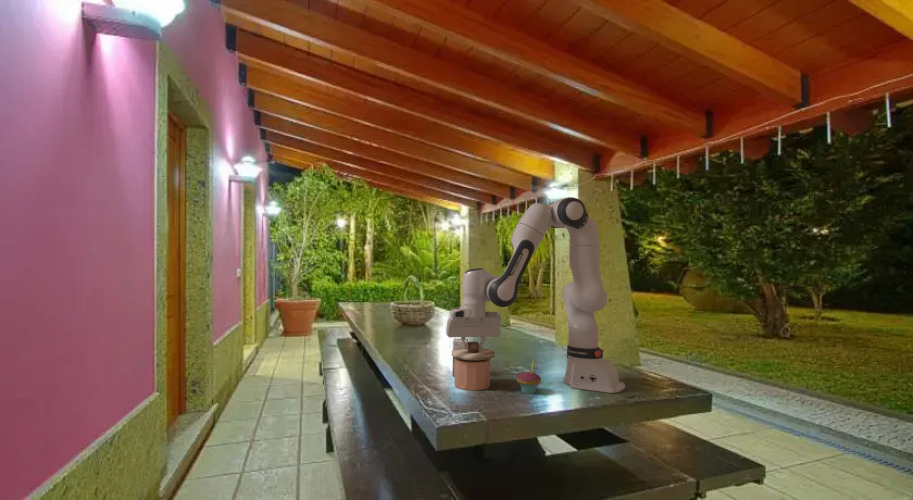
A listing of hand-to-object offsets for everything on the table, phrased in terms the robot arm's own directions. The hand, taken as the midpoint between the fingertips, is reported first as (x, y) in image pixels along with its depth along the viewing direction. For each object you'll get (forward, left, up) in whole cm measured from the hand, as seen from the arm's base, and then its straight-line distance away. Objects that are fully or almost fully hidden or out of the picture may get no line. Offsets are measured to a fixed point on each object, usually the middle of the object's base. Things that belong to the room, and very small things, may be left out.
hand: (473, 348), depth 171 cm
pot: (0, 0, -14) cm, 14 cm away
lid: (0, 0, -2) cm, 2 cm away
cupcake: (-20, -6, -14) cm, 25 cm away
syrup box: (+12, -9, -14) cm, 20 cm away
